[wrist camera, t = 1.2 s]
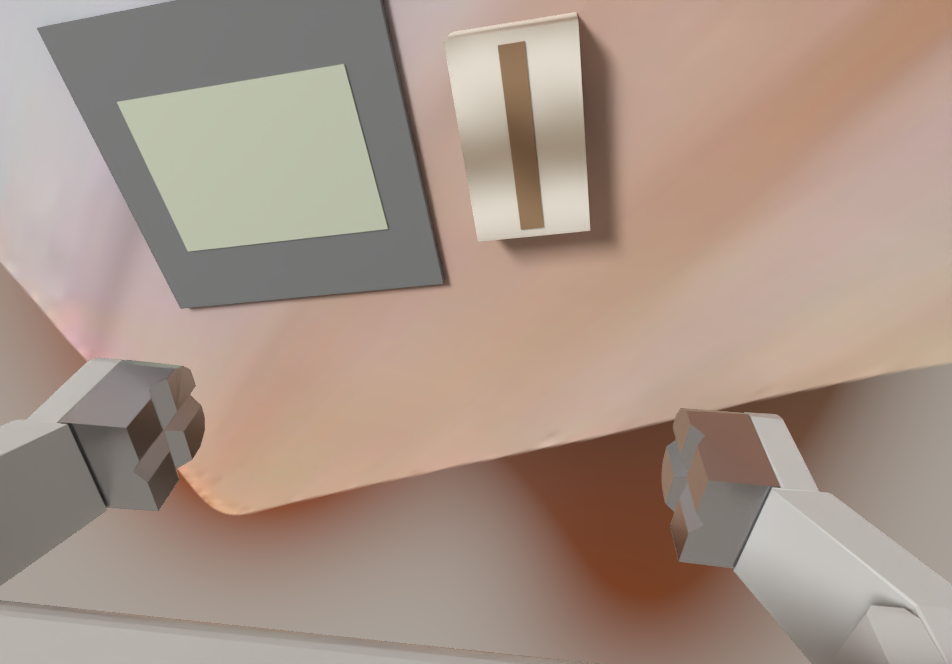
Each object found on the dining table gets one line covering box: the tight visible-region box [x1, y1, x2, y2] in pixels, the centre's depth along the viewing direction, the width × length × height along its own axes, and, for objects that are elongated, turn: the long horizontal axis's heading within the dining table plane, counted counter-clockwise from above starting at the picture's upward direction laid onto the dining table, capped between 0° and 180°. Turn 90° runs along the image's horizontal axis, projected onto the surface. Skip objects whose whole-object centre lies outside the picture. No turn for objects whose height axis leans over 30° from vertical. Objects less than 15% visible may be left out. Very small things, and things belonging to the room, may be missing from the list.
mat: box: [37, 0, 444, 309], centre depth 34 cm, size 18×17×1 cm
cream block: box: [444, 12, 590, 242], centre depth 31 cm, size 10×6×3 cm, turn 9°
